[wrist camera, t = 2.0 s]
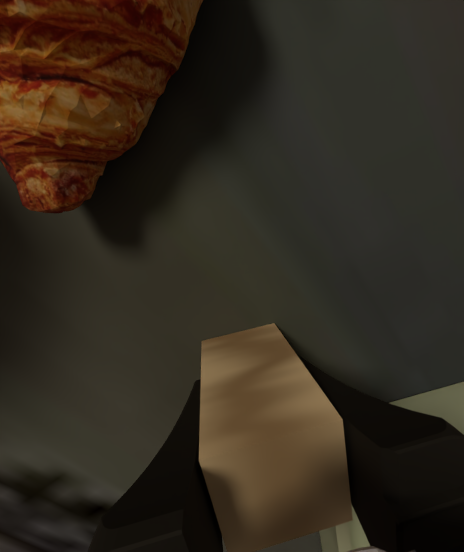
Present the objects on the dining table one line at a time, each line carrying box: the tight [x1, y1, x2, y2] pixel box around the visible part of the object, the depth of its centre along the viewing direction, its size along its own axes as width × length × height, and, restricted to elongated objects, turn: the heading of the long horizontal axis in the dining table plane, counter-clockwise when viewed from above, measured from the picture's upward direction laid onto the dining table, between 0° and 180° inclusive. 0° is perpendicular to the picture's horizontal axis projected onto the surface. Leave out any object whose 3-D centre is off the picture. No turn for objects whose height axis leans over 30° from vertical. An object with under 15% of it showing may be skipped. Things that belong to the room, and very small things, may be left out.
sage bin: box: [319, 382, 464, 552], centre depth 16 cm, size 16×16×4 cm
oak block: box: [199, 323, 353, 552], centre depth 11 cm, size 4×4×7 cm
